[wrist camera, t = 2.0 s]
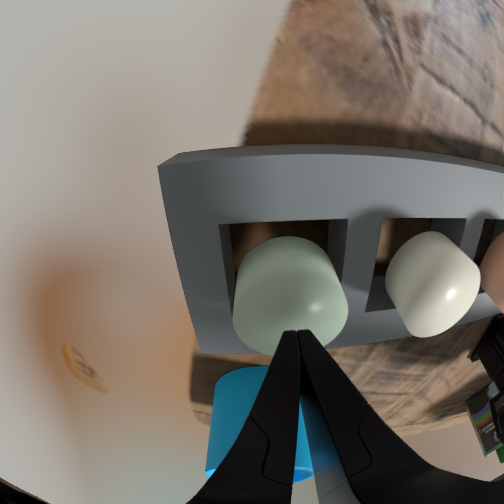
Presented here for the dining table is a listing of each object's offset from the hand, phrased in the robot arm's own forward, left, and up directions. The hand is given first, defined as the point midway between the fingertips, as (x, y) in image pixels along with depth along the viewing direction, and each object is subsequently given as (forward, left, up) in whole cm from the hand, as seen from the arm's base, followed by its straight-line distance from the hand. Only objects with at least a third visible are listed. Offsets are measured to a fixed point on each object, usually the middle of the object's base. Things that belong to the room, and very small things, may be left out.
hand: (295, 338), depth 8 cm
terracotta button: (-13, 0, -3) cm, 13 cm away
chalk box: (-36, +30, -7) cm, 48 cm away
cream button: (-6, 0, -3) cm, 7 cm away
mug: (+1, +16, -7) cm, 17 cm away
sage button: (0, 0, -3) cm, 3 cm away
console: (-6, 0, -6) cm, 9 cm away
